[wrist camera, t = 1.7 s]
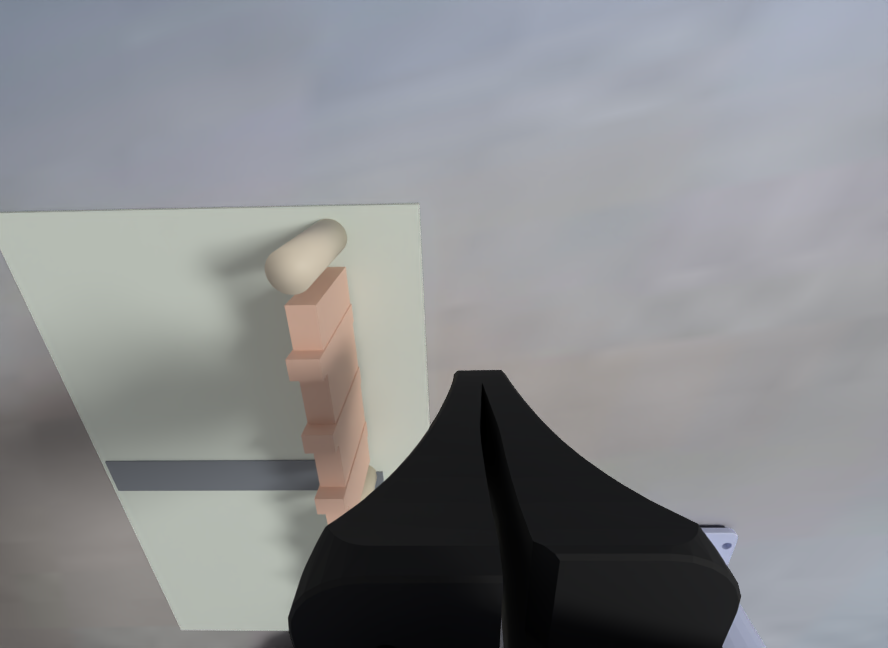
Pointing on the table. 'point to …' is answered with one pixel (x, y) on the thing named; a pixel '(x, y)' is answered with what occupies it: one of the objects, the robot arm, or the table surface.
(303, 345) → the fence panel
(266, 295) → the card
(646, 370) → the table surface
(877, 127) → the table surface
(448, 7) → the table surface
